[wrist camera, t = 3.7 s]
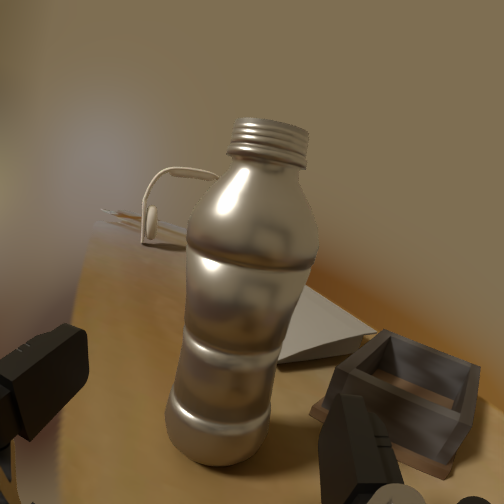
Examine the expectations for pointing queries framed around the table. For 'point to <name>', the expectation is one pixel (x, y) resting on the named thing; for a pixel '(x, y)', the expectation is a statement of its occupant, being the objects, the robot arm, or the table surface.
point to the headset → (151, 216)
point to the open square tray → (410, 398)
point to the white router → (321, 330)
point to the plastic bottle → (241, 293)
